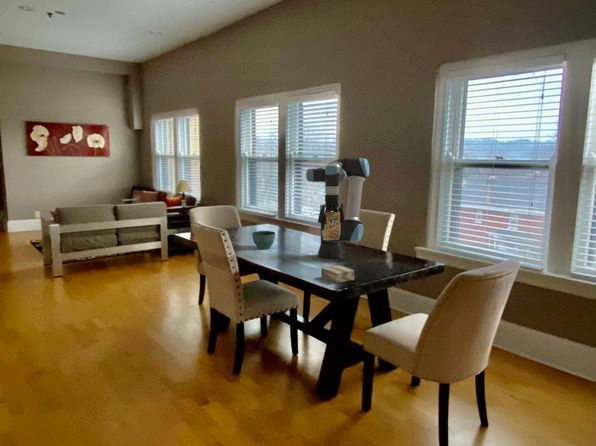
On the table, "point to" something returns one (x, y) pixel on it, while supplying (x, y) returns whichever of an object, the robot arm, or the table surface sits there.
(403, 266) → the table surface
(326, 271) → the birch stand
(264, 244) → the flower pot
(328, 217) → the candy box
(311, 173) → the robot arm
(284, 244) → the table surface
